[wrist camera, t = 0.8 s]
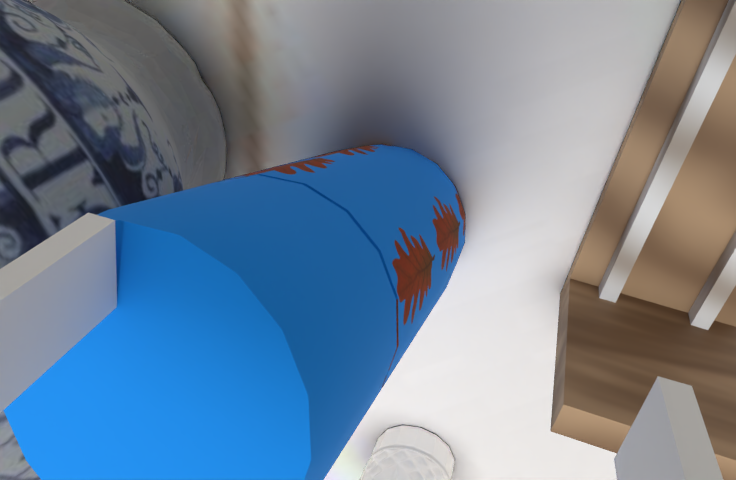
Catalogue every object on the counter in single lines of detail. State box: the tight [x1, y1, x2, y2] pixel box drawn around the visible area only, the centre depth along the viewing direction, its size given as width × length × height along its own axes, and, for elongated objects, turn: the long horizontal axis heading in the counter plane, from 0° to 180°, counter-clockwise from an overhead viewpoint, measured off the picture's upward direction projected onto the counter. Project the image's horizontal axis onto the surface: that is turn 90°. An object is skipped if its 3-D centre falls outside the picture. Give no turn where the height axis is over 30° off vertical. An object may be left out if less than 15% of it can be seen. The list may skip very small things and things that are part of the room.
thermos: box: [3, 144, 465, 480], centre depth 29 cm, size 11×11×25 cm
